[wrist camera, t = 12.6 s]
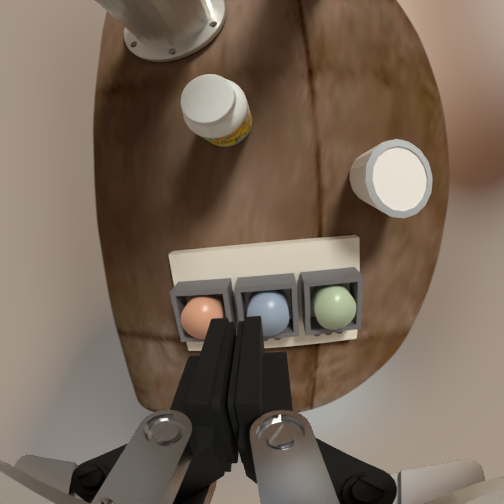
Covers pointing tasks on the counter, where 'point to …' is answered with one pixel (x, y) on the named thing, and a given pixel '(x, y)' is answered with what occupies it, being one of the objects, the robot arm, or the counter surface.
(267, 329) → the button two
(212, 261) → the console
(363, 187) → the white tapered cup
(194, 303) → the button one
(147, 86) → the counter surface
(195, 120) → the supplement bottle
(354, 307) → the button three
